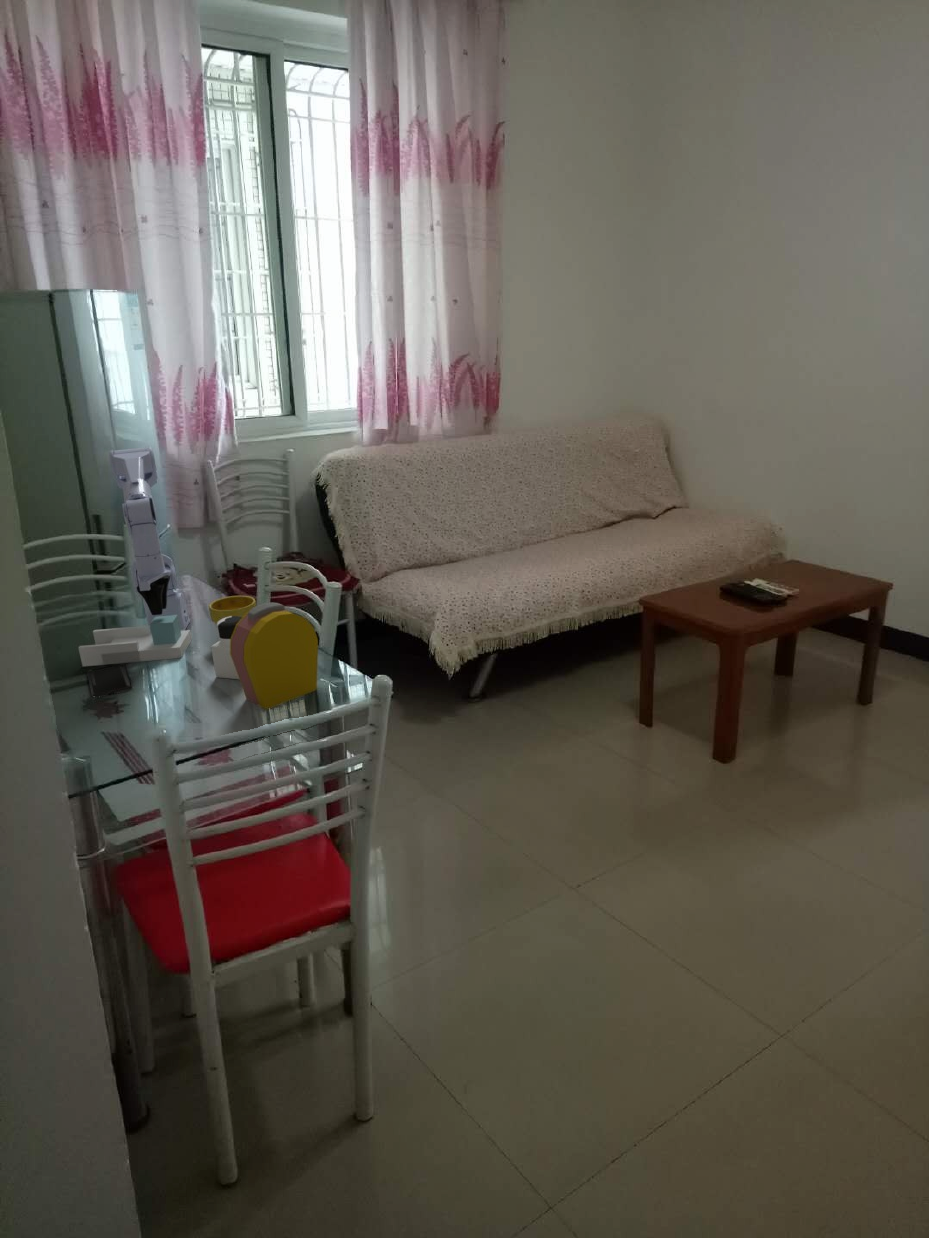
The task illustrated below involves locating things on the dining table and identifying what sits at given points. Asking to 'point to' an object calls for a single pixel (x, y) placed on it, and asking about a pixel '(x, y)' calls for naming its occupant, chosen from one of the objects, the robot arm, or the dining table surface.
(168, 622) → the teal block
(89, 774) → the dining table surface
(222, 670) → the medicine bottle
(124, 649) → the grey channel
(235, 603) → the plant pot
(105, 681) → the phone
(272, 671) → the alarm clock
